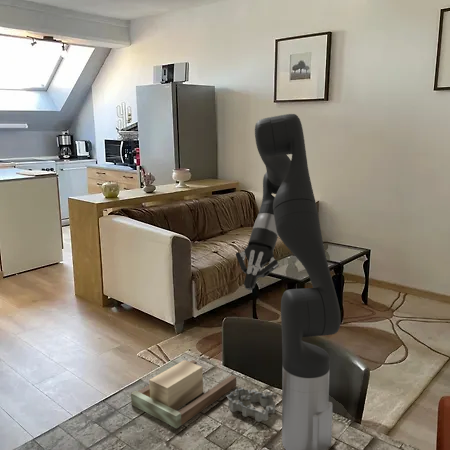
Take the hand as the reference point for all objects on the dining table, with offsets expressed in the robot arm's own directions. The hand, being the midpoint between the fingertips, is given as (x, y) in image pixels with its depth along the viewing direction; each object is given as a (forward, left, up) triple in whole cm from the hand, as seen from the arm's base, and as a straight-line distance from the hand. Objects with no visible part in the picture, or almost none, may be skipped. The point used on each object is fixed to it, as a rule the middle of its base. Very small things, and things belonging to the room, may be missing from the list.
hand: (248, 288), depth 126 cm
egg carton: (-14, +19, -22) cm, 32 cm away
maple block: (+2, +26, -21) cm, 34 cm away
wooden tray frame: (+2, +23, -21) cm, 31 cm away
